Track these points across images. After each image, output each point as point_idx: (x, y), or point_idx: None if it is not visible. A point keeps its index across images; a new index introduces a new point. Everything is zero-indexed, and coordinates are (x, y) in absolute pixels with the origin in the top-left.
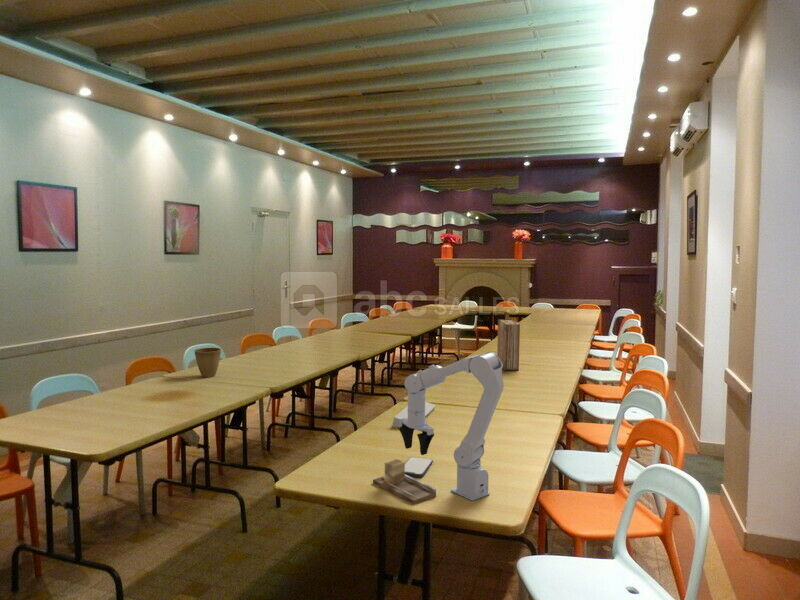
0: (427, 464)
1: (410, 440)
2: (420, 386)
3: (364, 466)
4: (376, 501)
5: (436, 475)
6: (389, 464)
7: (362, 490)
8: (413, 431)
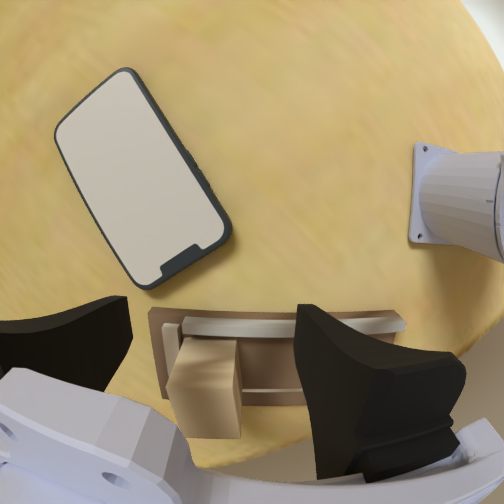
0: (151, 120)
1: (100, 331)
2: None
3: (39, 315)
4: (280, 440)
5: (256, 155)
6: (212, 437)
7: None
8: (44, 334)
